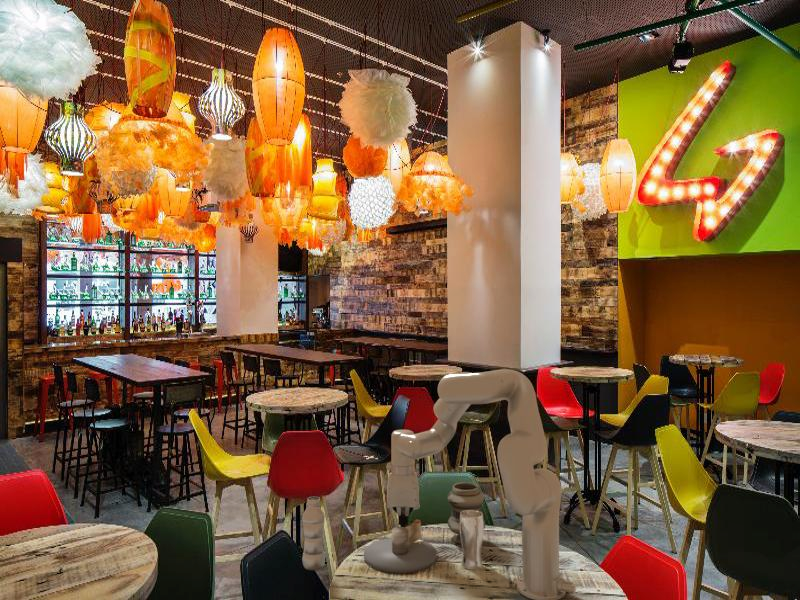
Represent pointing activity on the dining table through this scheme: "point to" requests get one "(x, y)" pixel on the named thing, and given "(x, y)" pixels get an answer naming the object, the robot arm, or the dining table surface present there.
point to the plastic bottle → (313, 535)
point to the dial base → (400, 557)
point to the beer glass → (471, 538)
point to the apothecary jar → (463, 505)
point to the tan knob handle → (405, 537)
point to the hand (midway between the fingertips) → (403, 526)
